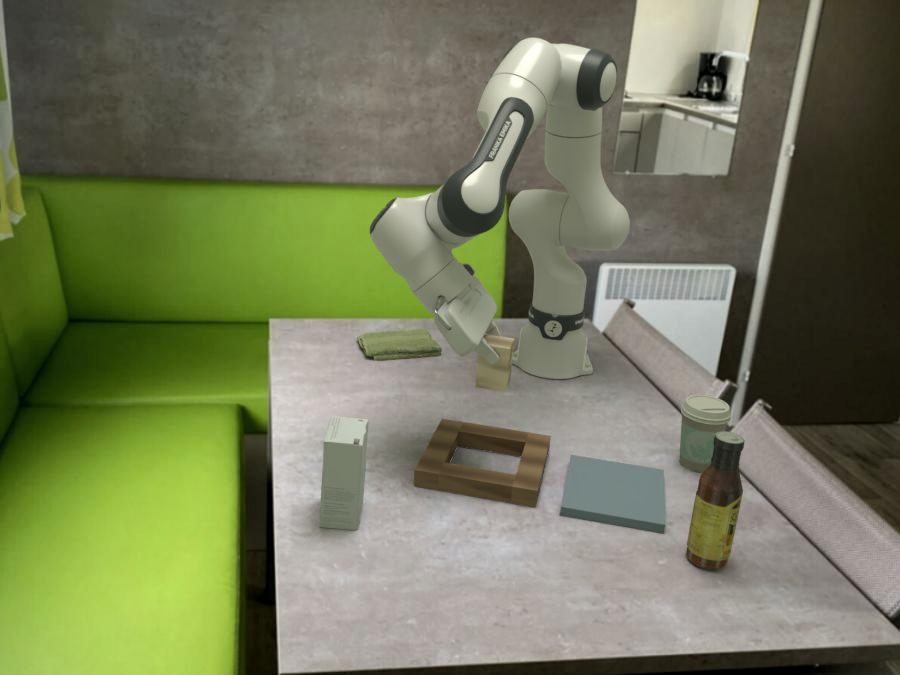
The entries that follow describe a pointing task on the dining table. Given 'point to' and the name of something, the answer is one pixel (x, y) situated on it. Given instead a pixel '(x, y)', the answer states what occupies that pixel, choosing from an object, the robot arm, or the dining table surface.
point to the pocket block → (482, 482)
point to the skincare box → (343, 473)
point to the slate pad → (615, 493)
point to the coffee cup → (701, 429)
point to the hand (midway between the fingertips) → (499, 353)
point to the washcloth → (399, 344)
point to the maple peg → (495, 365)
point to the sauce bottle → (717, 505)
